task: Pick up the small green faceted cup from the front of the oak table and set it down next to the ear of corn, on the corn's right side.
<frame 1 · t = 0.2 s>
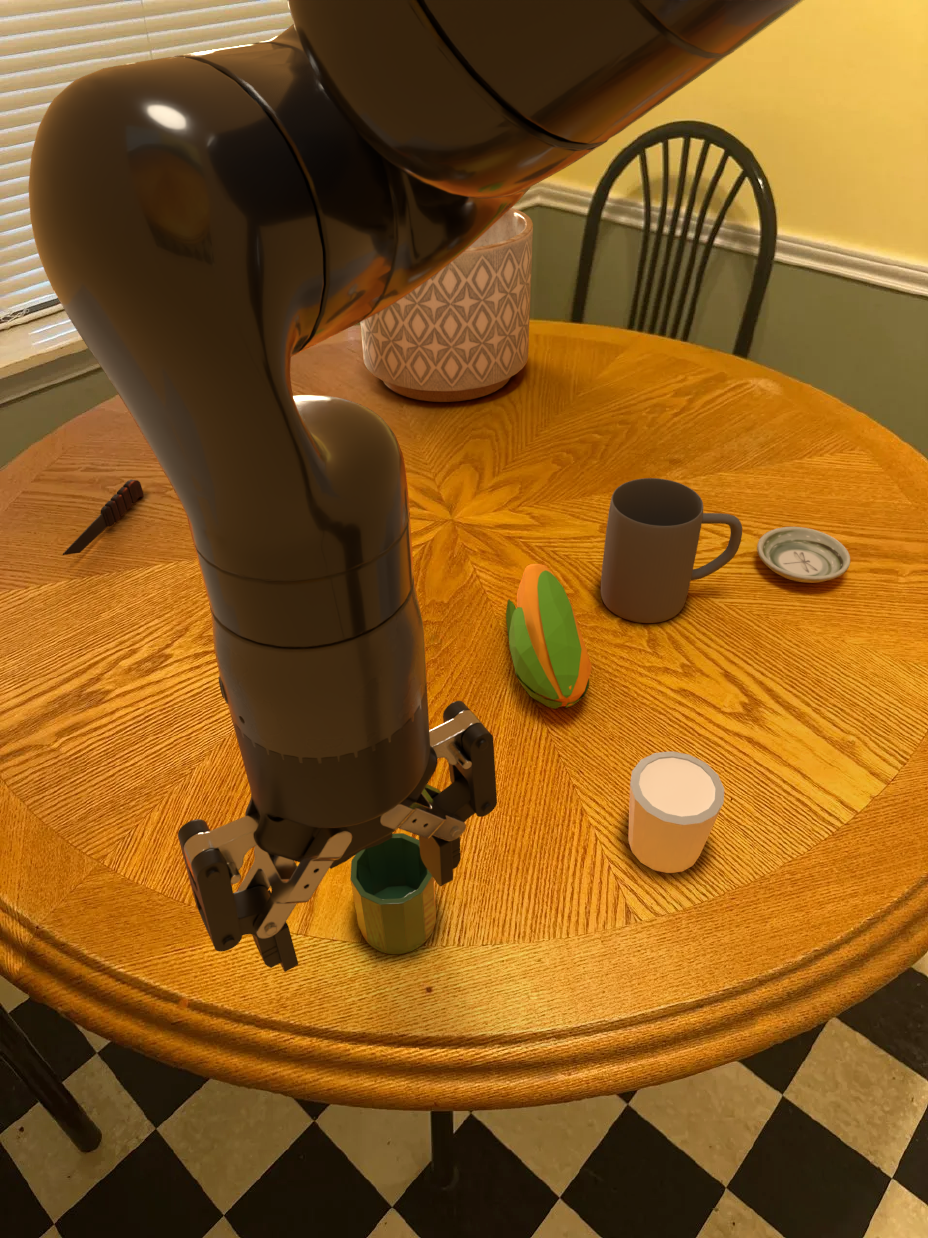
hand: (363, 910, 43), 19 cm above the table, tool pointing down, fingers open, 8 cm apart
corn: (541, 655, 85), on the table
saucer: (798, 570, 95), on the table
green faceted cup: (397, 918, 63), on the table
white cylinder: (663, 843, 68), on the table
planter: (446, 374, 135), on the table
knife: (108, 533, 102), on the table
cell phone: (242, 495, 108), on the table
mug: (663, 598, 92), on the table
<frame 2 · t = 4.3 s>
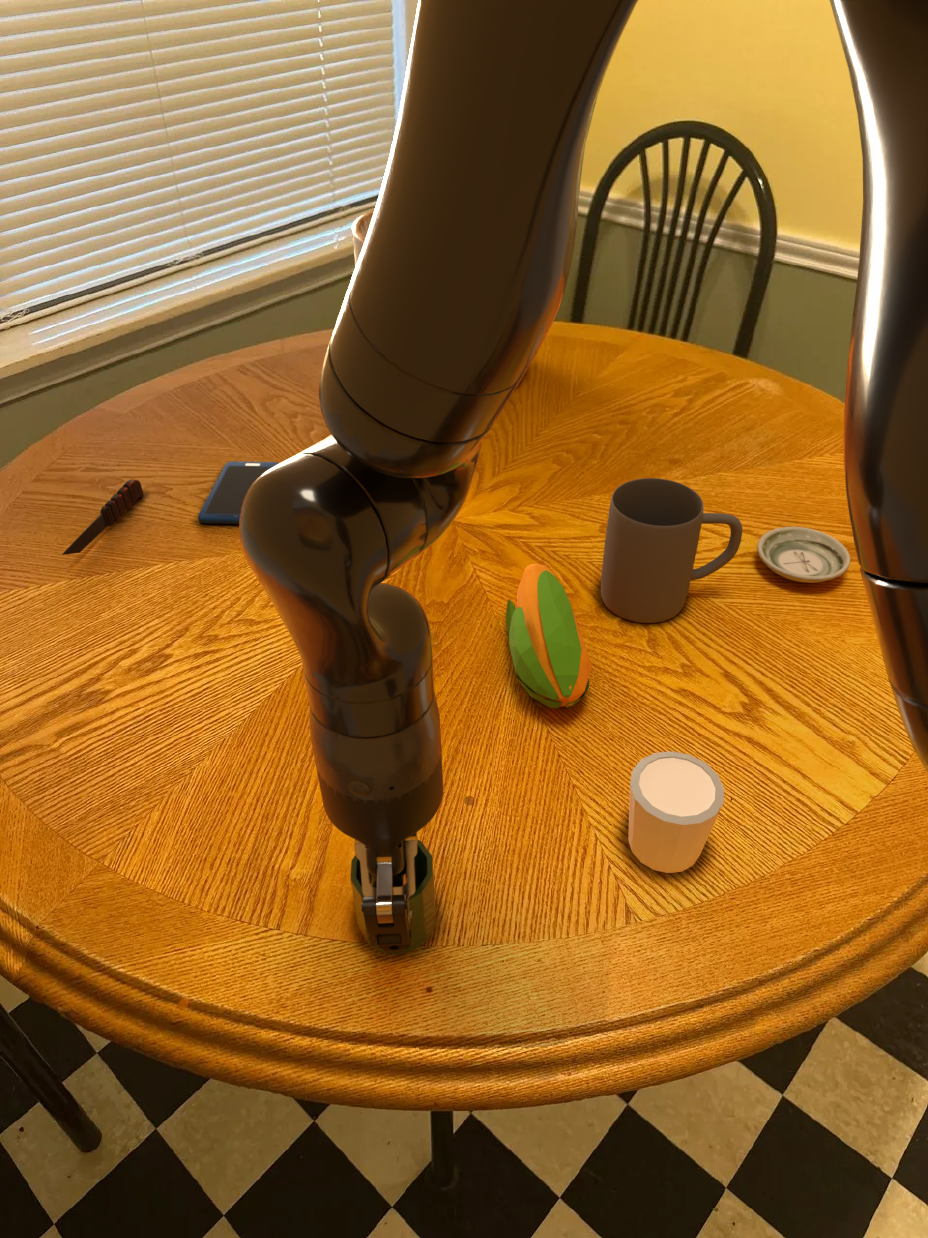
hand: (395, 903, 62), 2 cm above the table, tool pointing down, fingers closed on green faceted cup, 5 cm apart
green faceted cup: (397, 918, 63), on the table, touching gripper
everything else where it was.
when the fingers open (2 cm above the table, at t = 12.1 s): green faceted cup stays where it is, on the table.
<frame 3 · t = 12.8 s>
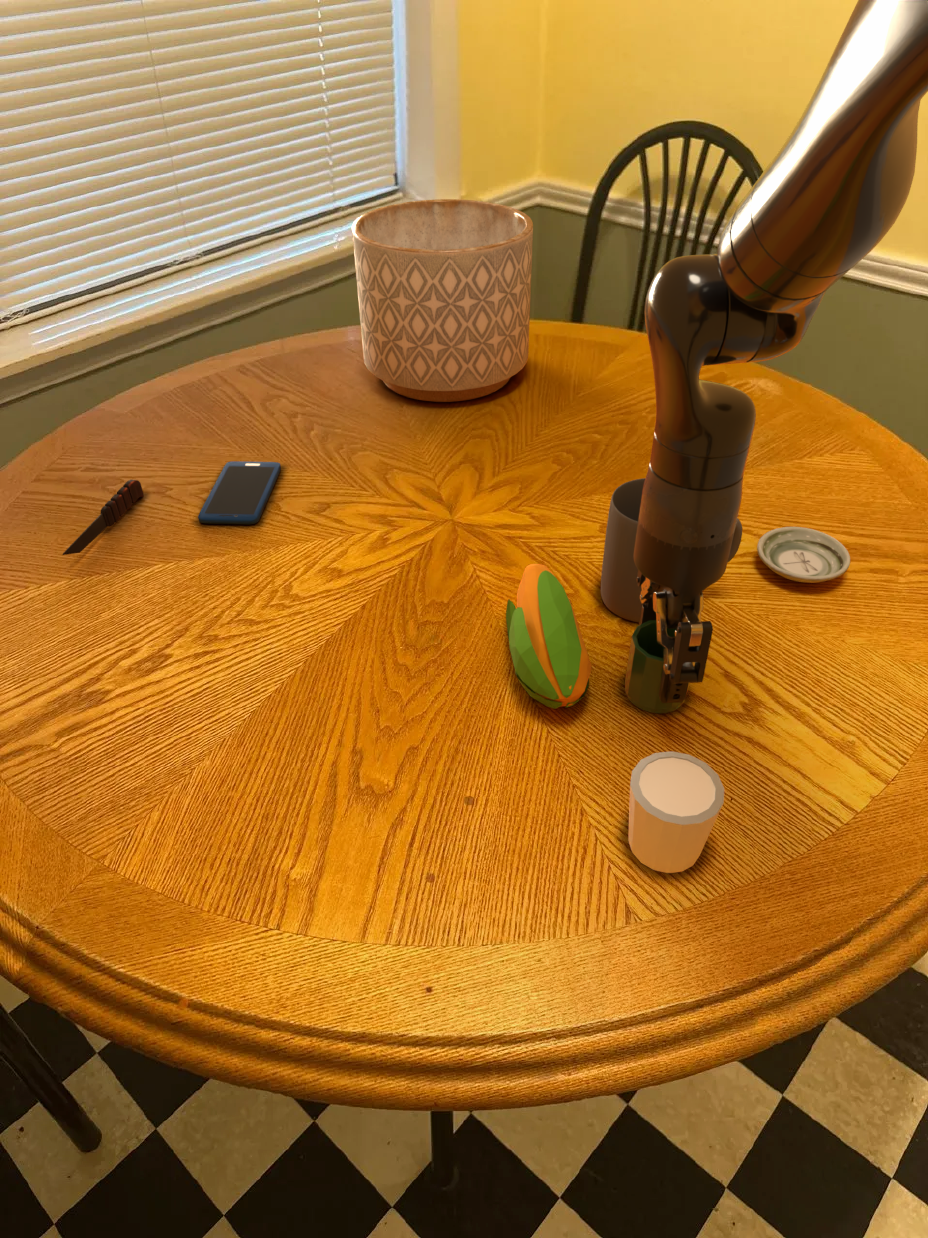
hand: (660, 666, 79), 3 cm above the table, tool pointing down, fingers open, 8 cm apart
green faceted cup: (655, 691, 81), on the table
everything else where it was.
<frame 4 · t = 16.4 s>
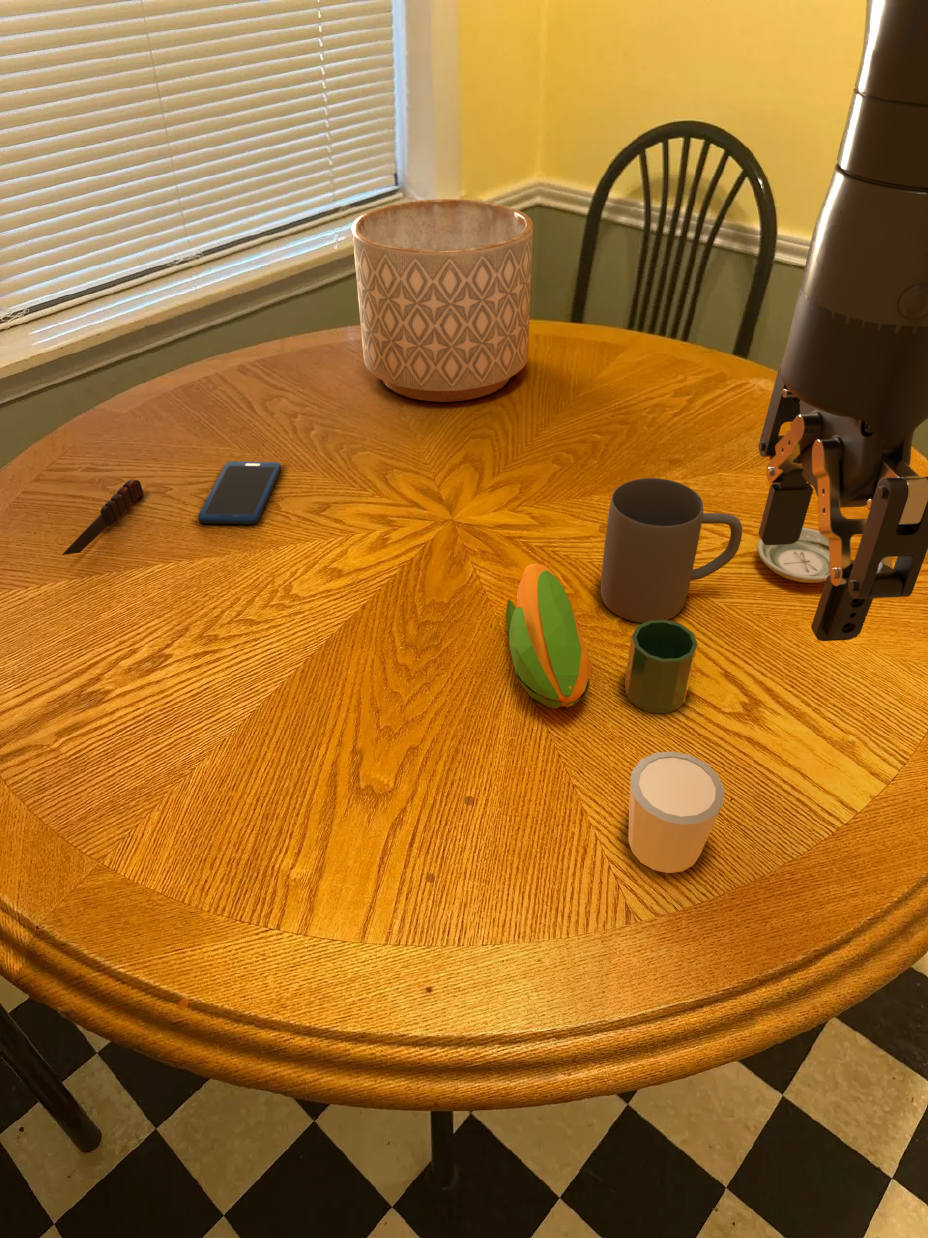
hand: (802, 585, 47), 28 cm above the table, tool pointing down, fingers open, 8 cm apart
nothing on the table moved.
at the end: green faceted cup inside the target area on the table beside the corn (1.0 cm from its centre), on the table; green faceted cup tilted 0°; the gripper is holding nothing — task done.
